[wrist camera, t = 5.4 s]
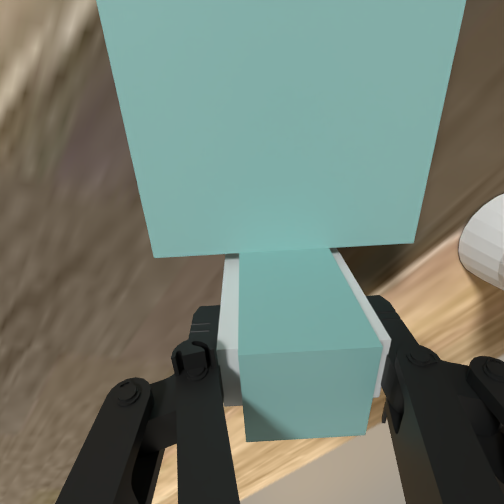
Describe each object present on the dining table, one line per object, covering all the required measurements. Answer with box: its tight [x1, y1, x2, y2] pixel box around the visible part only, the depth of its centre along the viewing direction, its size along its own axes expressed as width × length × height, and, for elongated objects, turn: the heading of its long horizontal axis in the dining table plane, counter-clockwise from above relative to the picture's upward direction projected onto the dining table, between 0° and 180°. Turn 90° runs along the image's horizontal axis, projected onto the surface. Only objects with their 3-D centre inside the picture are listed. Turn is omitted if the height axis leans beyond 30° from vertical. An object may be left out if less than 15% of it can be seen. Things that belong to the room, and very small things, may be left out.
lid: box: [96, 0, 466, 442], centre depth 9 cm, size 21×12×7 cm, turn 3°
